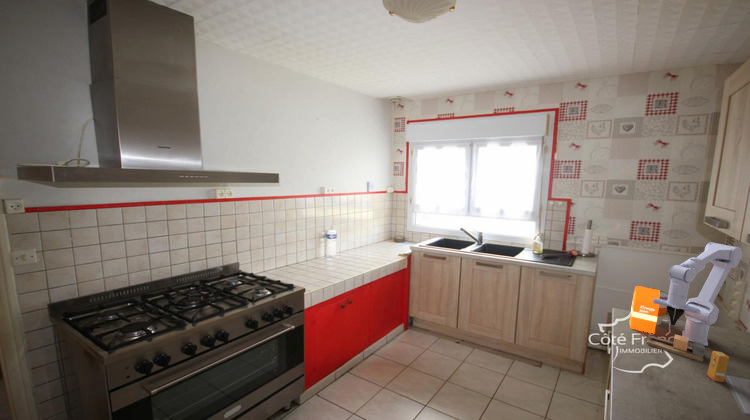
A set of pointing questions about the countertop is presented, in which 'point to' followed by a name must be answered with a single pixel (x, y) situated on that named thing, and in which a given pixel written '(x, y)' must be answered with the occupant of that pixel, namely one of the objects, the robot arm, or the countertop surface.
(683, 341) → the tan small block
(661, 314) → the reusable coffee cup
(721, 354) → the supplement box
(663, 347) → the cord board
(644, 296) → the orange juice
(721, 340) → the countertop surface
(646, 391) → the countertop surface
